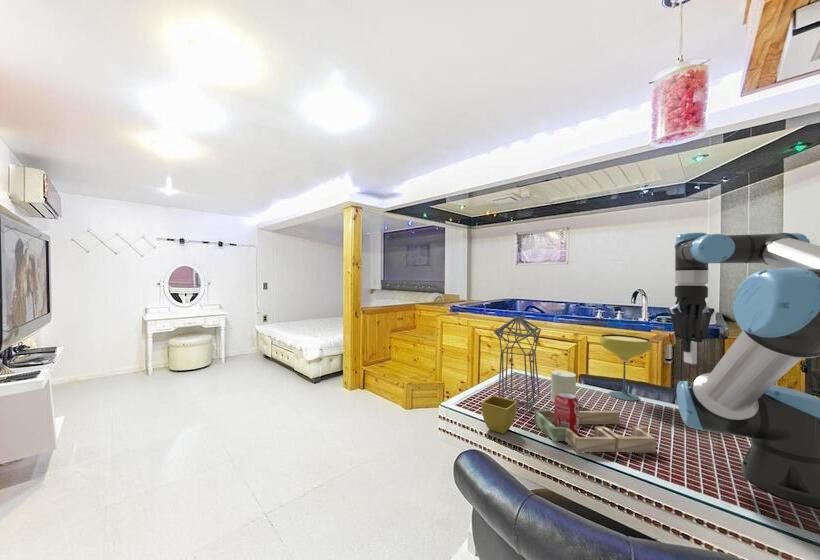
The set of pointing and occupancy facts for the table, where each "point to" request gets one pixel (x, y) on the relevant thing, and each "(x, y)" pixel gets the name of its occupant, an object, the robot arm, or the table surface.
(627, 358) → the cocktail glass
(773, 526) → the table surface
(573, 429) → the soda can
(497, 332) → the geometric lantern
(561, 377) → the can
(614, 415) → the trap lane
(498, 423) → the flower pot
